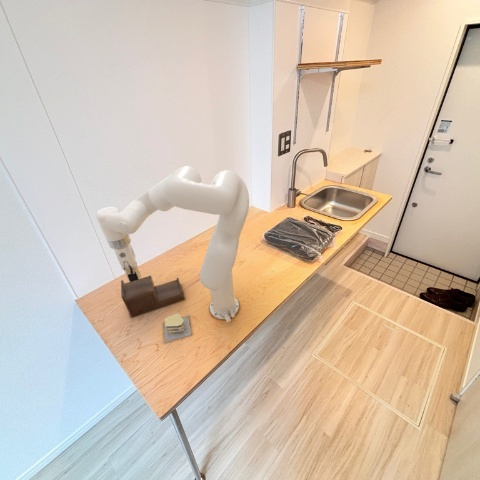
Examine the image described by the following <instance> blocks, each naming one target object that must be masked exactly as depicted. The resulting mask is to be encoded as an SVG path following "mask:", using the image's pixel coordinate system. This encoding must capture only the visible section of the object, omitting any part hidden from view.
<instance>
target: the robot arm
mask: <svg viewBox="0 0 480 480" xmlns="http://www.w3.org/2000/svg"><path fill="white" fill-rule="evenodd" d="M249 195H250V194H249V190H248V187H247V183H246V182H245V181H244V180H243V178H242V177H241V175H239V174H238V173H237V172H235V171H233V170H231V169H224V170H221V171H220V172H218V173H216V175H215V176H214V177H213V179H212V180H211V182H210V184H208V183H203V182H202V177H201V174H200V172H199V171H198V170H197V169H196V168H194V167H193V166H190V165H185V166H181V167H179V168H177V169H175V170H174V171H172V172H171V173H170V174H168V175H167V176H165V178H163V179H162V180H161V181H159V182H158V183H156V184H155V185H153V186H152V187H151V188H149V189H148V190H146V191H144V192H143V193H141V195H139V196H138V197H136V198H135V199H133V200H132V201H131V202H130V203H129V204H128V205H127V206H126V207H125V208H123V210H121V211H120V209H119V208H118V207H116V206H106V207H102V208H100V209H98V210H97V212H96V214H95V217H96V220H97V222H98V224H99V227H100V229H101V231H102V234H103V235H104V237H105V240H106V242H107V245H108V246H109V248H110V249H112V250H114V253H115V255H116V258H117V260H118V263H119V266H120V267H121V269H122V270H123V271H124V270H126V273H127V276H128V278H129V280H128V282H132V281H136V280H138V276H137V274H136V272H135V271H134V267H136V262H137V259H136V258H137V257H136V254H135V253H136V252H135V250H134V248H133V247H132V245H131V241H132V239H131V236H130V235H132V234H135V233H137V231H138V230H139V229H140V228H141V226H142V225H143V224H144V222H145V221H146V220H147V218H149V217H150V216H151V215H153V214H154V213H156V212H157V211H158V210H159V211H160V212H168V211H170V210H171V209H173V208H174V207H176V208H180V209H182V210H187V211H194V212H200V213H204V214H210V215H217V216H218V220H217V222H216V225H215V227H214V228H215V229H214V231H213V233H212V235H211V237H210V240H209V243H208V245H207V249H206V252H205V255H204V258H203V262H202V264H201V268H200V271H199V281H200V284H201V285H202V286H203V287H204V288H206V289H208V290H209V291H210V292H209V293H210V297H211V301H210V304H209V312H210V314H211V316H213V317H214V318H215V319H219V320H225V322H226V323H230V322H232V319H231V318H235V317H236V315H237V313H238V312H239V309H240V304H239V300H238V299H237V298H236V297H235V289H234V279H233V268H234V265H235V262H236V259H237V255H238V249H239V243H240V237H241V234H242V231H243V229H244V225H245V222H246V221H247V220H246V219H247V218H248V217H247V216H248V213H249V208H250V196H249ZM129 265H130V266H129ZM131 268H132V271H130V269H131ZM127 276H126V277H127Z"/></svg>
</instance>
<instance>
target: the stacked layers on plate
mask: <svg viewBox="0 0 480 480" xmlns="http://www.w3.org/2000/svg"><path fill="white" fill-rule="evenodd" d="M163 325H164V343H167V342H171V341H175V340H178V339H181V338H185V337H188V336H192V332H191V326H190V325H191V324H190V319H189V316H186V317H183V316H182V315H181V313H175V314H173V315H170V316H167V317H165V318H164V322H163Z"/></svg>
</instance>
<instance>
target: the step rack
mask: <svg viewBox="0 0 480 480" xmlns="http://www.w3.org/2000/svg"><path fill="white" fill-rule="evenodd" d="M120 296H121V299H122V301H123V303H124V305H125V307H126V309H127V311H128V313H129V315H130V318H134V317H138V316H140V315H143V314H145V313H149V312H151V311H155V310H158V309H162V308H164V307H166V306H170V305H172V304H175V303H178V302H181V301H185V295H184V293H183V288H182V286H181V282H180V279H179V277H176V279H175V280H171V281H168V282H164V283H162V284H159V285H155V283H154V280H153V277H152V275H148V276H144V277H140V278H139V279H138V280H136V281H132V282H130V281H128V282H125V281H124V279H121V280H120Z"/></svg>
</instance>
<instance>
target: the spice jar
mask: <svg viewBox="0 0 480 480" xmlns="http://www.w3.org/2000/svg"><path fill="white" fill-rule="evenodd" d="M129 266H130V265H129ZM130 271H132V268H131V269H130ZM134 271H135V272H136V274H137V276H138V279H141V278H142V274H141V271H140V269H139V266H138V262H137V261H136V267H134ZM123 272H124V274H125V277H126V278H127V281H129V278H128V276H127V273H126V270H123Z"/></svg>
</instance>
